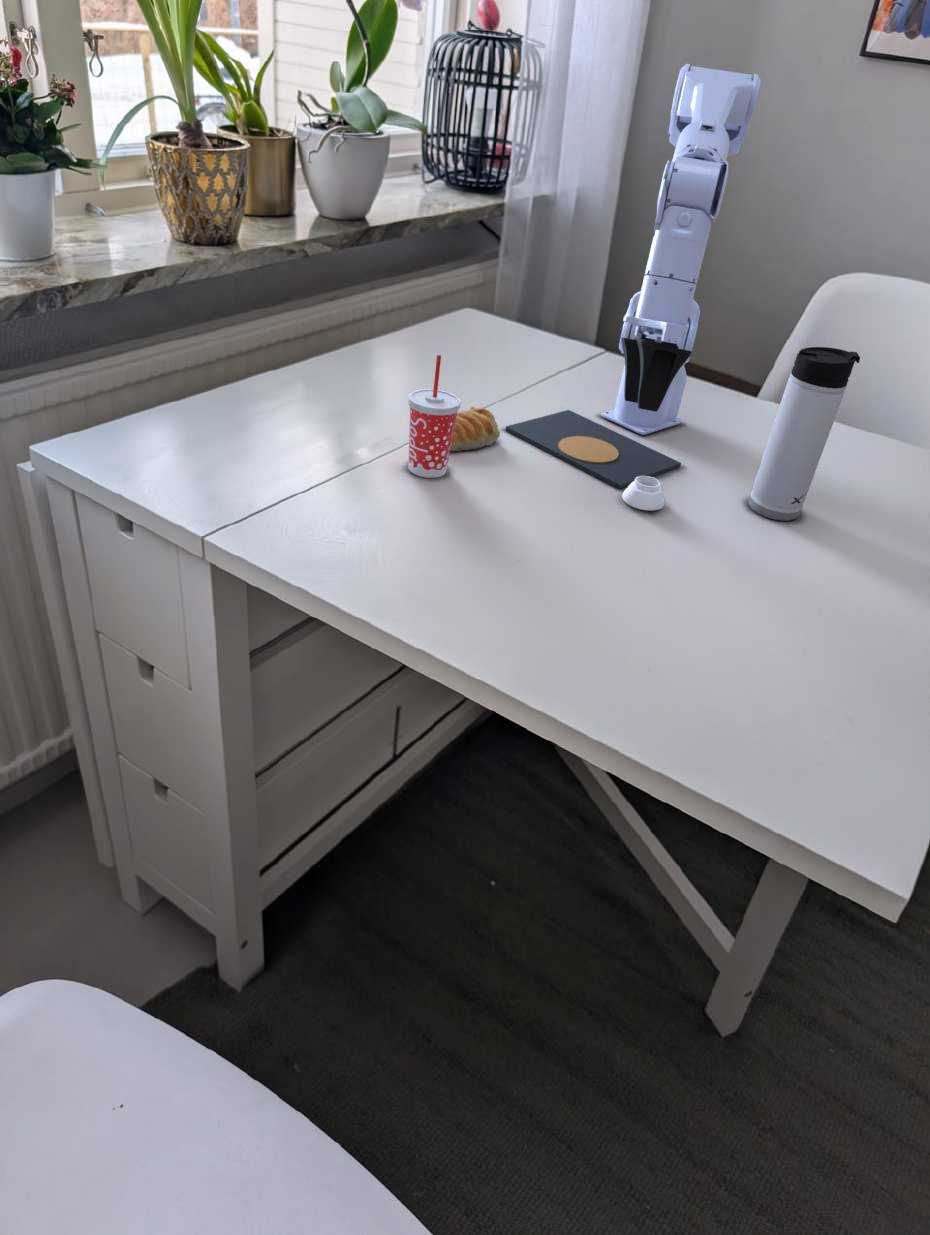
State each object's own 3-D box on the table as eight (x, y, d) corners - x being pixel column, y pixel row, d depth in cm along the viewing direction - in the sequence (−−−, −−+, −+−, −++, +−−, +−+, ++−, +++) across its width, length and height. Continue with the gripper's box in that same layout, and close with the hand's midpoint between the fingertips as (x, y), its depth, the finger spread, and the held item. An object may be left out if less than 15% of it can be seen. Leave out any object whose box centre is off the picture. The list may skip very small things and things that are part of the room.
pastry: (455, 459, 111) (459, 431, 109) (416, 441, 115) (418, 413, 113) (502, 442, 118) (506, 414, 116) (464, 425, 121) (467, 398, 119)
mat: (567, 413, 129) (569, 408, 129) (680, 466, 118) (681, 461, 117) (505, 430, 121) (505, 424, 121) (619, 489, 110) (620, 483, 110)
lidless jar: (637, 490, 110) (613, 500, 107) (643, 468, 109) (618, 477, 106) (671, 506, 108) (647, 517, 105) (677, 484, 106) (653, 494, 103)
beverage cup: (395, 459, 109) (404, 346, 102) (442, 457, 112) (455, 346, 104) (410, 482, 105) (421, 365, 97) (459, 479, 107) (474, 365, 99)
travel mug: (804, 526, 108) (865, 363, 96) (749, 515, 108) (803, 352, 97) (798, 503, 113) (856, 346, 101) (746, 493, 113) (797, 336, 102)
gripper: (621, 274, 104) (595, 393, 108) (649, 271, 90) (618, 407, 95) (680, 286, 104) (651, 403, 109) (716, 284, 91) (682, 418, 95)
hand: (640, 405), depth 102 cm, fingers open, 7 cm apart
